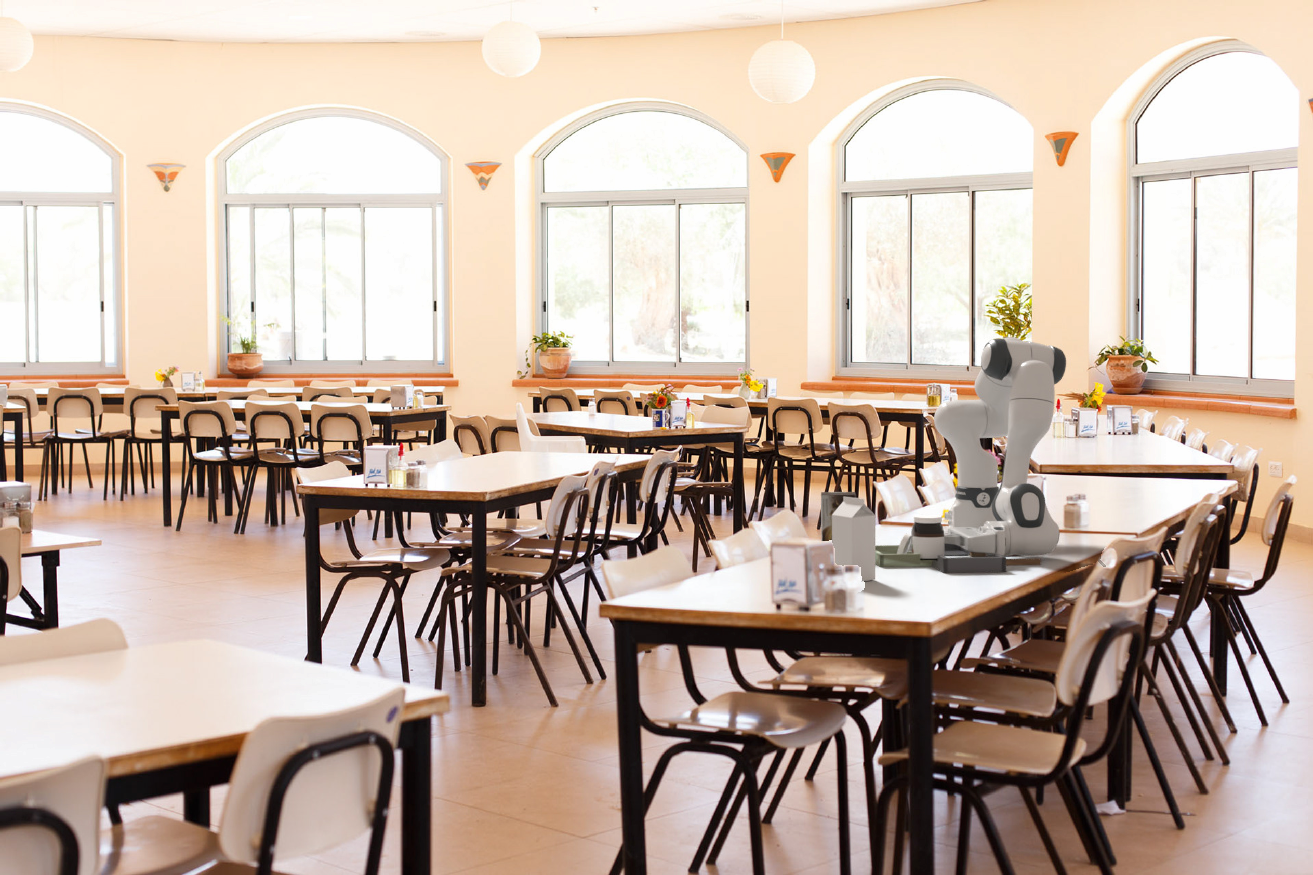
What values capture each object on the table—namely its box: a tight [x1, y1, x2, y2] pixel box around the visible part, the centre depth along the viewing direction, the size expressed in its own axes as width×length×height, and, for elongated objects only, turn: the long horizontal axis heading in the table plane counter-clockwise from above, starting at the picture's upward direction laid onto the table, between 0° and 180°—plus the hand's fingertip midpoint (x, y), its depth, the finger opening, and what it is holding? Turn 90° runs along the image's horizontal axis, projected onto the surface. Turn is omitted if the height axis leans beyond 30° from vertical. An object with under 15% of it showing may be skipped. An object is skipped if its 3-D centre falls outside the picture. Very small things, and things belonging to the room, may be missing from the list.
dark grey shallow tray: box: [931, 554, 1007, 574], centre depth 318 cm, size 10×15×4 cm
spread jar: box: [897, 514, 945, 561], centre depth 329 cm, size 12×11×12 cm
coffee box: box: [820, 491, 857, 541], centre depth 344 cm, size 9×6×16 cm
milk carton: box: [832, 497, 876, 582], centre depth 303 cm, size 7×7×19 cm
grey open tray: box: [908, 544, 971, 557], centre depth 344 cm, size 10×15×4 cm
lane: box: [875, 544, 1042, 568], centre depth 331 cm, size 16×40×3 cm, turn 93°
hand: (939, 539), depth 331 cm, fingers closed
